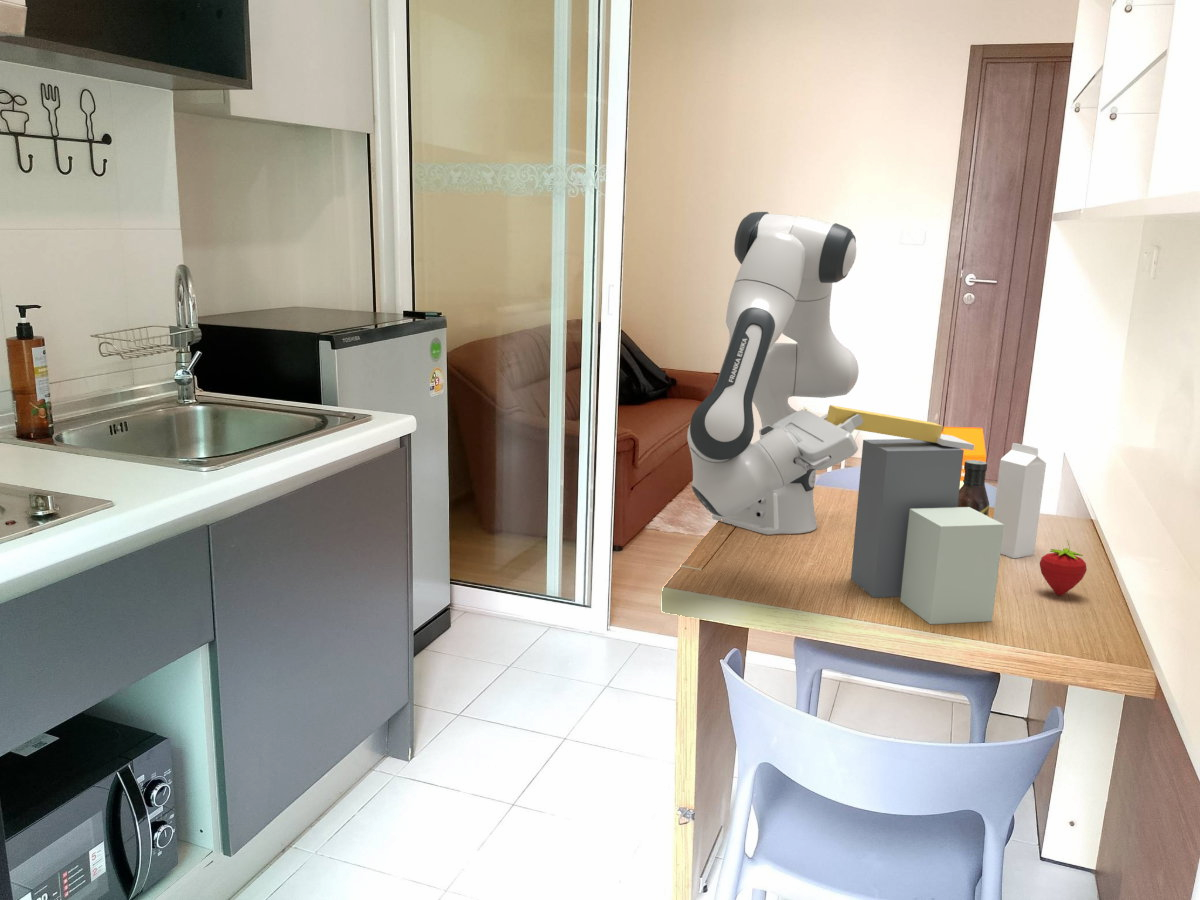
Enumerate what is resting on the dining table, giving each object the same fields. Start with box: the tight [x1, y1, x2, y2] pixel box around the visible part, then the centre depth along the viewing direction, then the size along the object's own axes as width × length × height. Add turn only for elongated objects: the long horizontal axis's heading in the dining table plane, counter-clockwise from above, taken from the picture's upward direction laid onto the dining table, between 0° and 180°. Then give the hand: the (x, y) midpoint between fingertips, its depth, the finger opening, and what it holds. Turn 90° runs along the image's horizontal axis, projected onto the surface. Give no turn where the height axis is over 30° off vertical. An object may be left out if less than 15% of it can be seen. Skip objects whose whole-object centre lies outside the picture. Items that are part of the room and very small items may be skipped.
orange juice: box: [941, 426, 987, 490], centre depth 216 cm, size 8×9×20 cm
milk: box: [992, 442, 1047, 559], centre depth 189 cm, size 6×6×22 cm
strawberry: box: [1039, 539, 1087, 596], centre depth 167 cm, size 6×8×10 cm
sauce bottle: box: [958, 460, 990, 517], centre depth 183 cm, size 6×6×20 cm
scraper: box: [826, 404, 975, 450], centre depth 163 cm, size 26×7×3 cm, turn 101°
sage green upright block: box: [899, 507, 1004, 625], centre depth 158 cm, size 11×10×16 cm
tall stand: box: [850, 438, 964, 599], centre depth 167 cm, size 14×9×26 cm, turn 101°
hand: (854, 414), depth 161 cm, fingers closed on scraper, 3 cm apart
